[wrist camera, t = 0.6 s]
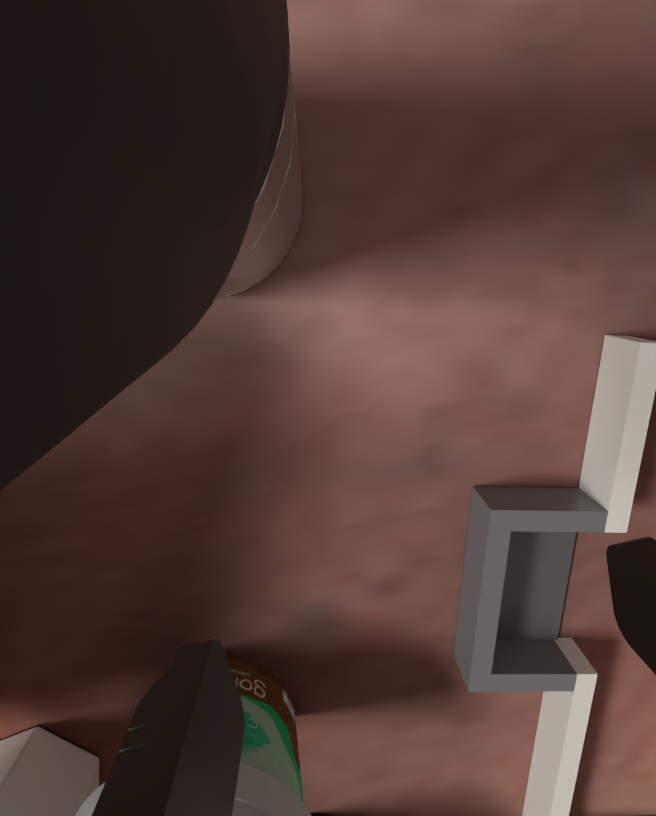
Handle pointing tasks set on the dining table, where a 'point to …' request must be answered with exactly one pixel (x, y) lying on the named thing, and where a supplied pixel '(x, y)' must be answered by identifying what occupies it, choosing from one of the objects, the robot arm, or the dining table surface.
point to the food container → (259, 746)
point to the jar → (44, 775)
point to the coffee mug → (318, 815)
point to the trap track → (551, 573)
